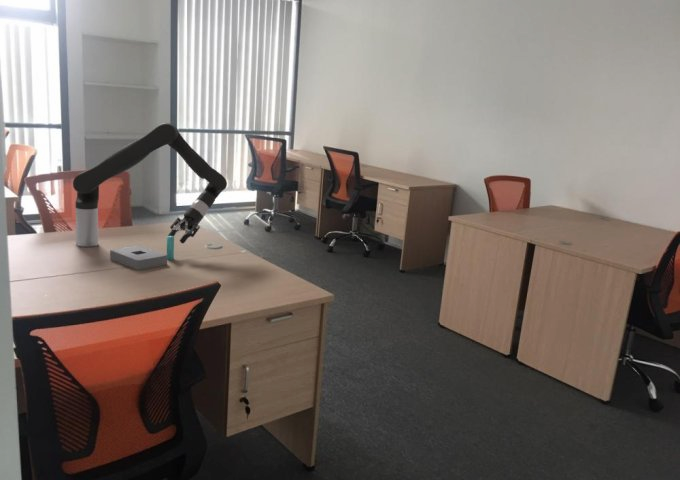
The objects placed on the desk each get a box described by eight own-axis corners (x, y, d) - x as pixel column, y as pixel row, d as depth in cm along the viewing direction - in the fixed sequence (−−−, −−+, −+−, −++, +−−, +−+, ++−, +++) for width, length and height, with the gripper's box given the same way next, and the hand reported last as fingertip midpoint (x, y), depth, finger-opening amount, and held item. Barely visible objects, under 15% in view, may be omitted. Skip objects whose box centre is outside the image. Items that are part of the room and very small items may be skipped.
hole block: (110, 259, 249) (110, 250, 248) (139, 254, 260) (139, 245, 259) (137, 270, 238) (137, 260, 237) (167, 264, 248) (167, 255, 247)
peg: (165, 258, 256) (165, 236, 254) (170, 257, 259) (171, 235, 256) (169, 260, 255) (169, 237, 252) (175, 259, 257) (175, 236, 255)
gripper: (181, 204, 264) (159, 232, 258) (202, 209, 256) (180, 238, 250) (191, 214, 270) (169, 242, 263) (211, 220, 261) (190, 248, 255)
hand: (175, 240), depth 257 cm, fingers open, 8 cm apart
